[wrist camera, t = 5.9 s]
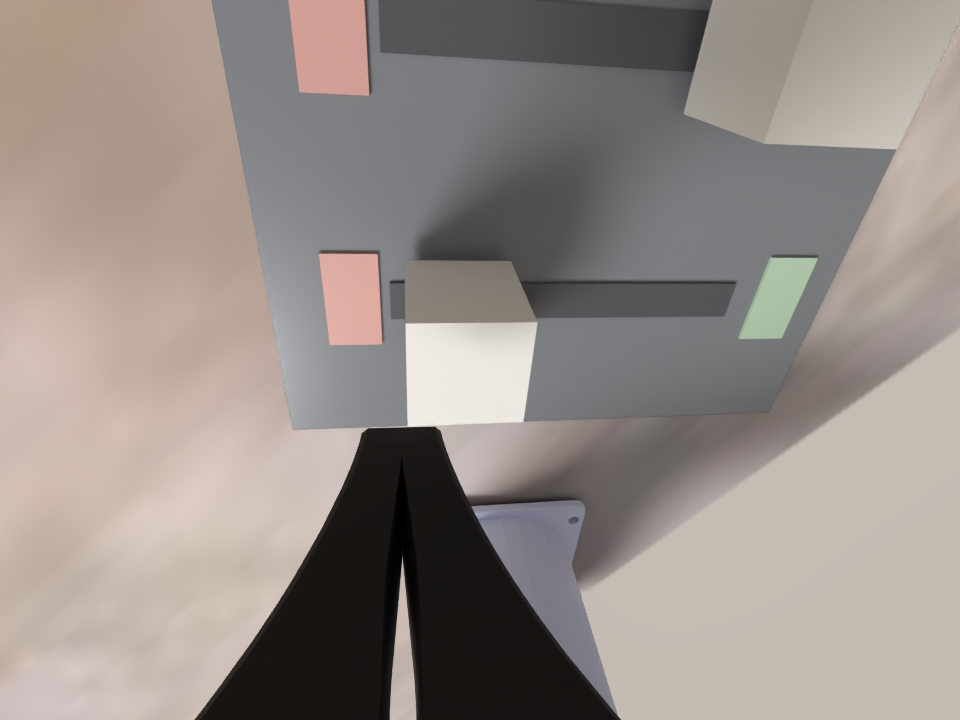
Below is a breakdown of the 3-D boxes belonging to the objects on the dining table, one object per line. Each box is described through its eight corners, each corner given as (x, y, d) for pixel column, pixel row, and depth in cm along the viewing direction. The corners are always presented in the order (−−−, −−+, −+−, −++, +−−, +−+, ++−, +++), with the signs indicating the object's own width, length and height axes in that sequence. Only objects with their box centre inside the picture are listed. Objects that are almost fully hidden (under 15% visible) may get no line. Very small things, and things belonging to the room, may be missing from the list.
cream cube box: (790, 119, 13) (897, 149, 10) (682, 114, 13) (762, 144, 10) (843, -24, 12) (986, -35, 9) (721, -36, 11) (831, -51, 8)
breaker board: (747, 389, 21) (769, 414, 20) (299, 402, 19) (292, 432, 18) (978, -133, 12) (1046, -150, 11) (189, -239, 10) (157, -276, 9)
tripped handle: (501, 349, 16) (523, 421, 13) (406, 350, 16) (407, 426, 13) (510, 261, 15) (537, 322, 12) (404, 260, 14) (405, 323, 11)
